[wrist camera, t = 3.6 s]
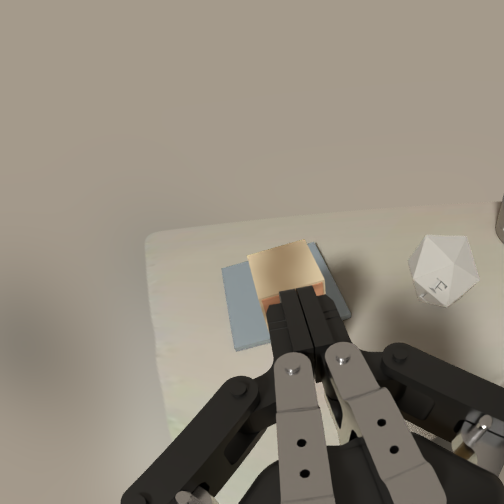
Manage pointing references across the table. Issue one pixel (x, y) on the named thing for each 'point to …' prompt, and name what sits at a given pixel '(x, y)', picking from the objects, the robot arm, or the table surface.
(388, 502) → the robot arm
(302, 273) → the beech block
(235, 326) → the mat
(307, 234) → the table surface
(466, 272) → the die
